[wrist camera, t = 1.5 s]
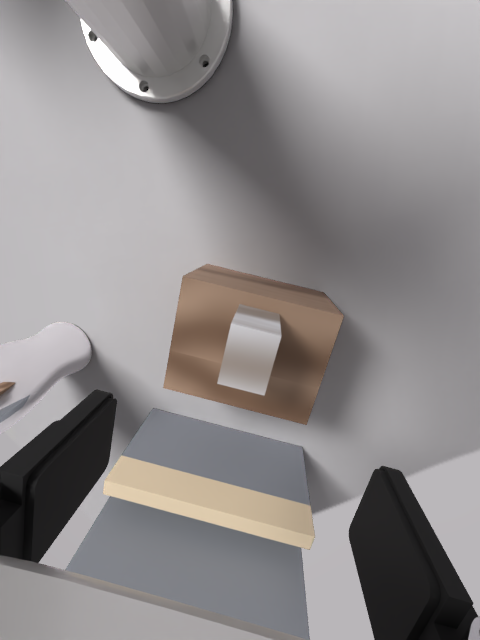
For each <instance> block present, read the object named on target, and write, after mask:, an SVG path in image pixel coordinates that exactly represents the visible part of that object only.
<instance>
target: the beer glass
mask: <svg viewBox="0 0 480 640" xmlns="http://www.w3.org/2000/svg"><path fill="white" fill-rule="evenodd" d="M91 354H92V349H91V344H90V341H89V339H88V337H87V336H86V334H85V333H84V332H83V331H82V330H81V329H80V328H79V327H77V326H75V325H73V324H71V323H68V322H55V323H52V324H50V325H48V326H46V327H45V328H44V329H42V330H41V331H40V332H38V333H37V334H35V335H33V336H31V337H28V338H25V339H21V340H17V341H12V342H7V343H2V344H0V434H2V433H3V432H5V431H6V430H8V429H9V428H10V427H12V426H13V425H14V424H16V423H17V422H18V421H19V420H21V419H22V418H23V417H24V416H26V415H27V414H28V413H29V412H30V411H31V410H32V409H33V408H34V407H35V406H36V405H37V404H38V403H39V402H40V401H41V400H42V398H43V397H44V396H45V395H46V394H47V393H48V392H49V391H50V390H51V389H52V387H53V386H54V385H55V384H56V383H57V382H58V381H60V380H61V379H62V378H64V377H66V376H68V375H70V374H73V373H75V372H77V371H79V370H81V369H83V368H84V367H85V366H86V365H87V364H88V363H89V361H90V358H91Z"/></svg>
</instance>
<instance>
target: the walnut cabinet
mask: <svg viewBox="0 0 480 640" xmlns="http://www.w3.org/2000/svg"><path fill="white" fill-rule="evenodd" d="M343 318H344V315H343V314H342V313H341V312H340V311H339V310H338V308H337V307H336V306H335V305H334V304H333V303H332V301H331V300H330V299H329V298H328V297H327V296H326V294H325V293H324V292H320V291H316V290H312V289H308V288H304V287H300V286H296V285H291V284H287V283H283V282H279V281H275V280H271V279H267V278H263V277H259V276H255V275H251V274H247V273H243V272H238V271H234V270H230V269H226V268H222V267H218V266H214V265H210V264H206V265H204V266H202V267H200V268H198V269H196V270H194V271H192V272H190V273H188V274H186V275H184V276H183V278H182V284H181V290H180V295H179V301H178V307H177V312H176V318H175V324H174V330H173V335H172V341H171V347H170V353H169V358H168V364H167V370H166V375H165V381H164V387H163V388H166V389H170V390H173V391H177V392H181V393H185V394H189V395H193V396H197V397H201V398H204V399H208V400H212V401H216V402H220V403H224V404H228V405H232V406H235V407H239V408H243V409H247V410H251V411H255V412H259V413H262V414H266V415H270V416H274V417H278V418H282V419H286V420H290V421H293V422H297V423H301V424H305V425H307V422H308V419H309V416H310V413H311V410H312V408H313V405H314V402H315V399H316V396H317V393H318V390H319V387H320V384H321V381H322V379H323V376H324V373H325V370H326V367H327V364H328V361H329V358H330V355H331V352H332V349H333V347H334V344H335V341H336V338H337V335H338V332H339V329H340V326H341V323H342V320H343Z"/></svg>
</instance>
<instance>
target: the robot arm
mask: <svg viewBox="0 0 480 640" xmlns="http://www.w3.org/2000/svg"><path fill="white" fill-rule="evenodd" d="M65 1H66V3H67V4H68V5H69V6H70V7H71V8H72V9H73V10H74V11H75V13H76V14H77V15H78V16H79V17H80V20H81V26H82V30H83V33H84V36H85V40H86V43H87V45H88V48H89V50H90V52H91V54H92V56H93V58H94V60H95V61H96V63H97V64H98V65H99V67H100V68H101V70H102V71H103V72H104V74H105V75H106V76H107V77H108V78H109V79H110V80H111V81H112V82H113V83H114V84H116V85H117V86H118V87H119V88H121V89H122V90H123V91H124V92H126V93H128V94H129V95H131V96H133V97H135V98H137V99H140V100H144V101H147V102H152V103H167V102H173V101H178V100H180V99H182V98H185V97H187V96H189V95H191V94H192V93H194V92H195V91H197V90H198V89H200V88H201V87H202V86H203V85H204V84H205V83H206V82H207V81H208V80H209V79H210V78H211V76H212V75H213V73H214V72H215V70H216V69H217V67H218V66H219V64H220V62H221V60H222V58H223V56H224V53H225V51H226V49H227V45H228V42H229V38H230V34H231V28H232V18H233V5H232V0H65ZM206 63H208V64H209V65H208V66H207V67H204V65H205V64H206ZM147 88H149V90H148V91H147V92H146V89H147ZM116 404H117V400H116V399H113V394H111V393H107V392H104V391H100V390H95V391H94V392H92V393H91V394H90V395H89V396H88V397H87V398H85V399H84V400H83V401H82V402H81V403H80V404H78V405H77V406H76V407H75V408H74V409H73V410H71V411H70V412H69V413H68V414H67V415H66V416H64V417H63V418H62V419H61V420H60V421H59V420H58V421H55V422H53V423H52V424H51V425H49V426H48V427H47V428H46V429H45V430H43V431H42V432H41V433H40V434H39V435H38V436H36V437H35V438H34V439H33V440H32V441H30V442H29V443H28V444H27V445H26V446H24V447H23V448H22V449H21V450H20V451H19V452H17V453H16V454H15V455H14V456H13V457H11V458H10V459H9V460H8V461H7V462H5V463H4V464H3V465H2V466H1V467H0V640H306V639H303V638H300V637H296V636H293V635H290V634H286V633H283V632H280V631H276V630H273V629H269V628H266V627H263V626H259V625H256V624H252V623H249V622H245V621H242V620H239V619H235V618H232V617H228V616H225V615H222V614H218V613H215V612H211V611H208V610H204V609H201V608H197V607H194V606H191V605H187V604H184V603H180V602H177V601H173V600H170V599H166V598H163V597H159V596H156V595H152V594H149V593H145V592H142V591H138V590H135V589H131V588H128V587H124V586H121V585H117V584H113V583H110V582H106V581H103V580H99V579H96V578H92V577H89V576H85V575H81V574H78V573H74V572H70V571H66V570H62V569H58V568H55V567H51V566H47V565H43V564H39V561H40V560H41V558H42V557H43V556H44V554H45V553H46V551H47V550H48V548H49V547H50V546H51V545H52V543H53V542H54V540H55V539H56V538H57V536H58V535H59V533H60V532H61V531H62V529H63V528H64V526H65V525H66V524H67V522H68V521H69V520H70V518H71V517H72V515H73V514H74V513H75V511H76V510H77V508H78V507H79V506H80V504H81V503H82V502H83V500H84V499H85V497H86V496H87V495H88V493H89V492H90V491H91V489H92V488H93V486H94V485H95V484H96V482H97V481H98V479H99V478H100V477H101V475H102V474H103V472H104V471H105V469H106V467H107V465H108V462H109V457H110V449H111V442H112V434H113V427H114V419H115V412H116ZM349 540H350V544H351V547H352V551H353V555H354V559H355V563H356V567H357V571H358V575H359V579H360V583H361V587H362V591H363V594H364V599H365V603H366V607H367V611H368V615H369V619H370V622H371V627H372V631H373V635H374V638H375V640H480V617H478V615H477V614H476V612H475V610H474V608H473V606H472V605H473V602H472V600H471V598H470V596H469V594H468V593H467V591H466V589H465V587H464V585H463V583H462V582H461V580H460V578H459V576H458V574H457V572H456V571H455V569H454V567H453V565H452V563H451V562H450V560H449V558H448V556H447V554H446V552H445V551H444V549H443V547H442V545H441V543H440V541H439V540H438V538H437V536H436V534H435V533H434V530H433V529H432V527H431V525H430V523H429V521H428V520H427V518H426V516H425V514H424V512H423V510H422V509H421V507H420V505H419V503H418V501H417V499H416V498H415V496H414V494H413V492H412V490H411V488H410V487H409V485H408V483H407V481H406V479H405V477H404V476H403V474H402V472H401V471H399V470H396V469H392V468H389V467H385V466H381V467H380V468H379V469H375V470H374V472H373V474H372V476H371V479H370V481H369V483H368V486H367V488H366V490H365V493H364V495H363V497H362V500H361V502H360V504H359V507H358V509H357V511H356V513H355V516H354V518H353V521H352V523H351V525H350V528H349Z"/></svg>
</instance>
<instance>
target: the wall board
mask: <svg viewBox="0 0 480 640" xmlns="http://www.w3.org/2000/svg"><path fill="white" fill-rule="evenodd" d="M103 494H105V495H109V496H110V497H109V499H108V501H107V502H106V504H105V506H104V507H103V509H102V510H101V512H100V514H99V515H98V517H97V519H96V520H95V522H94V524H93V525H92V527H91V529H90V530H89V532H88V533H87V535H86V537H85V538H84V540H83V542H82V543H81V545H80V547H79V548H78V550H77V552H76V553H75V555H74V556H73V558H72V560H71V561H70V563H69V565H68V566H67V568H66V571H70V572H74V573H78V574H81V575H85V576H89V577H92V578H96V579H99V580H103V581H106V582H110V583H113V584H117V585H121V586H124V587H128V588H131V589H135V590H138V591H142V592H145V593H149V594H152V595H156V596H159V597H163V598H166V599H170V600H173V601H177V602H180V603H184V604H187V605H191V606H194V607H197V608H201V609H204V610H208V611H211V612H215V613H218V614H222V615H225V616H228V617H232V618H235V619H239V620H242V621H245V622H249V623H252V624H256V625H259V626H263V627H266V628H269V629H273V630H276V631H280V632H283V633H286V634H290V635H293V636H296V637H300V638H303V639H306V640H310V637H309V626H308V616H307V605H306V594H305V584H304V573H303V562H302V552H301V548H304V549H308V550H310V548H311V546H312V543H313V540H314V538H315V534H314V526H313V520H312V512H311V505H310V498H309V491H308V484H307V477H306V470H305V463H304V456H303V449H302V447H300V446H296V445H292V444H289V443H285V442H281V441H277V440H273V439H269V438H266V437H262V436H258V435H254V434H250V433H246V432H243V431H239V430H235V429H231V428H227V427H223V426H220V425H216V424H212V423H208V422H204V421H200V420H197V419H193V418H189V417H185V416H181V415H178V414H174V413H170V412H166V411H162V410H158V409H155V408H153V409H152V411H151V412H150V413H149V415H148V416H147V418H146V419H145V421H144V422H143V424H142V425H141V427H140V428H139V430H138V431H137V433H136V434H135V436H134V437H133V439H132V440H131V442H130V443H129V445H128V446H127V448H126V449H125V451H124V452H123V454H122V455H121V457H120V458H119V460H118V461H117V463H116V464H115V466H114V467H113V469H112V470H111V472H110V473H109V475H108V476H107V478H106V479H105V482H104V490H103Z"/></svg>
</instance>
